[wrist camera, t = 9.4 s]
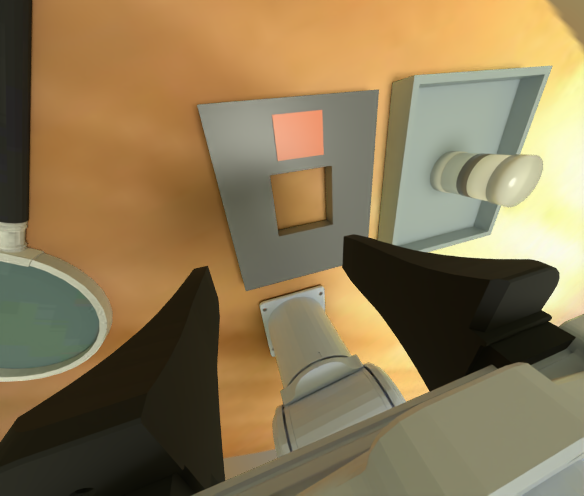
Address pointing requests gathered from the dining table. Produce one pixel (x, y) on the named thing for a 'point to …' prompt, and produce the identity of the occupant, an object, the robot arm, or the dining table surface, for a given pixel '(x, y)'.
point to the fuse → (487, 176)
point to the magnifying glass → (26, 261)
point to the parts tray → (450, 149)
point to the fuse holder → (288, 158)
